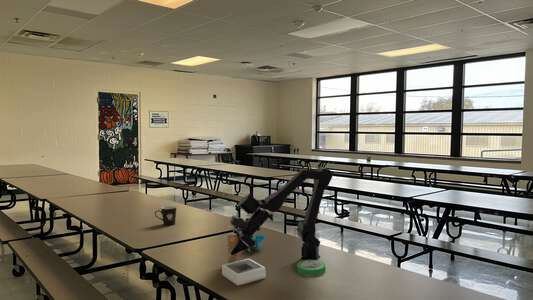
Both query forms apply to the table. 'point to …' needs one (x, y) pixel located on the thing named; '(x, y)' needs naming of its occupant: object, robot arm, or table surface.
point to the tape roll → (311, 271)
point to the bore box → (243, 271)
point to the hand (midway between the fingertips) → (229, 250)
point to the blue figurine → (257, 241)
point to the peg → (231, 244)
